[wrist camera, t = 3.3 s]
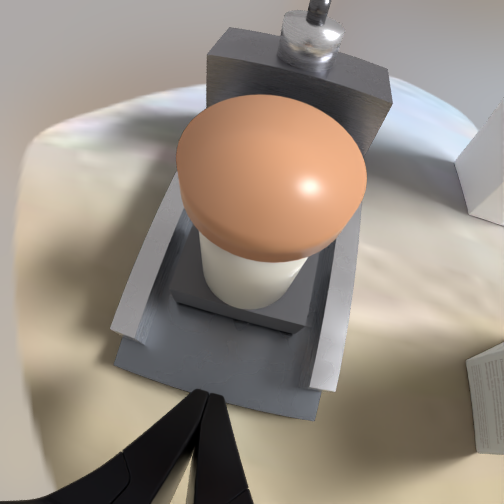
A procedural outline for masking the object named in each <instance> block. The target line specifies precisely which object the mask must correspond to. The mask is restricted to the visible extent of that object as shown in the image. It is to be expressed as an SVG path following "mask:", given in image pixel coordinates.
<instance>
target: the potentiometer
mask: <svg viewBox="0 0 504 504" xmlns="http://www.w3.org/2000/svg"><path fill="white" fill-rule="evenodd" d="M330 3H331V0H310V3H309V7H308V11H303V10H294V11H289V12H287V13H286V14H285V15H284V19H283V24H282V30H281V35H280V40H279V45H278V50H277V54H278V56H279V58H280V59H281V60H283V61H284V62H285V63H287V64H289V65H291V66H293V67H295V68H298V69H301V70H305V71H311V72H324V71H328V70H330V69H332V68H333V66H334V63H335V60H336V57H337V54H338V50H339V48H340V45H341V42H342V39H343V36H344V33H345V28H344V27H343V26H342V25H341V24H340V23H339V22H337V21H336V20H334V19H332V18H330V17H328V16H327V14H328V10H329V7H330Z"/></svg>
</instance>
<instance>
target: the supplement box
mask: <svg viewBox="0 0 504 504" xmlns="http://www.w3.org/2000/svg"><path fill="white" fill-rule="evenodd" d="M466 366H467V372H468V379H469V386H470V392H471V401H472V409H473V418H474V429H475V441H476V451H477V453H480V454H497V455H504V342H502V343H500V344H498V345H496V346H494V347H492V348H490V349H488V350H486V351H484V352H482V353H480V354H478V355H476V356H474V357H472V358H469V359H467V360H466Z"/></svg>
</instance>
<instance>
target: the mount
mask: <svg viewBox="0 0 504 504" xmlns="http://www.w3.org/2000/svg"><path fill="white" fill-rule="evenodd" d="M279 40H280V36H276V35H271V34H266V33H261V32H256V31H250V30H244V29H238V28H231V27H229V29H228V30H227V31H226V32H225V33H224V34H223V35H222V37H221V38H220V39H219V40H218V41H217V43H216V44H215V45H214V46H213V48H212V49H211V50H210V51H209V52H208V54H207V81H206V109H207V108H208V107H210V106H212V105H214V104H216V103H218V102H221V101H224V100H227V99H230V98H234V97H239V96H246V95H274V96H281V97H286V98H290V99H294V100H297V101H300V102H303V103H306V104H308V105H310V106H313V107H315V108H317V109H318V110H320V111H322V112H324V113H325V114H327V115H328V116H330V117H331V118H333V119H334V120H335V121H336V122H338V123H339V124H340V125H341V126H342V127H343V128H344V129H345V130H346V131H347V132H348V133H349V135H350V136H351V137H352V138H353V140H354V141H355V143H356V144H357V146H358V148H359V150H360V152H361V154H362V156H363V159H364V156H365V154H366V152H367V151H368V149H369V147H370V145H371V143H372V142H373V140H374V138H375V136H376V134H377V132H378V130H379V129H380V127H381V125H382V123H383V121H384V119H385V117H386V115H387V114H388V112H389V110H390V108H391V106H392V104H393V102H392V95H391V88H390V81H389V75H388V69H386V68H383V67H381V66H378V65H375V64H373V63H370V62H367V61H365V60H362V59H359V58H356V57H353V56H350V55H347V54H344V53H341V52H338V54H337V57H336V60H335V63H334V66H333V68H332V69H330V70H328V71H324V72H311V71H305V70H301V69H298V68H295V67H293V66H291V65H289V64H287V63H285V62H284V61H283V60H281V59H280V58H279V56H278V54H277V50H278V45H279ZM361 207H362V201H361V203H360V205H359V207H358V208H357V210H356V211H355V213H354V214H353V216H352V217H351V219H350V220H349V222H348V223H347V224H346V226H345V227H344V229H343V230H342V232H341V233H340V234H339V235H338V237H337V238H336V239H335V240H334V241H333V242H332V243H331V244H330V245H328V246H327V247H326V248H324V249H323V250H321V251H320V252H319V258H318V263H317V269H316V275H315V280H314V285H313V291H312V296H311V301H310V306H309V311H308V316H307V321H306V326H305V327H303V328H302V329H301V330H300V331H298V332H297V333H296V334H292V333H288V332H284V331H280V330H276V329H272V328H268V327H264V326H260V325H257V324H253V323H249V322H245V321H242V320H238V319H234V318H231V317H227V316H224V315H220V314H217V313H213V312H210V311H206V310H203V309H199V308H196V307H193V306H189V305H186V304H183V303H179V302H176V301H174V298H173V296H172V294H171V292H170V290H169V286H170V283H171V281H172V278H173V275H174V272H175V270H176V267H177V264H178V261H179V259H180V256H181V253H182V251H183V248H184V245H185V243H186V240H187V238H188V235H189V232H190V230H191V227H192V225H193V223H192V221H191V220H190V218H189V217H188V215H187V213H186V210H185V208H184V206H183V202H182V198H181V193H180V186H179V179H178V172H177V171H176V173H175V175H174V177H173V179H172V181H171V183H170V186H169V188H168V190H167V192H166V194H165V196H164V198H163V200H162V202H161V204H160V207H159V209H158V211H157V213H156V215H155V218H154V220H153V222H152V224H151V226H150V229H149V231H148V233H147V236H146V238H145V240H144V243H143V245H142V247H141V250H140V252H139V254H138V257H137V259H136V262H135V264H134V266H133V269H132V271H131V274H130V276H129V279H128V281H127V284H126V287H125V289H124V292H123V294H122V297H121V300H120V302H119V305H118V308H117V310H116V313H115V316H114V319H113V322H112V324H111V327H110V329H111V330H112V331H114V332H115V333H117V334H119V335H120V336H122V340H121V343H120V346H119V350H118V353H117V356H116V359H115V362H114V366H117V367H119V368H122V369H125V370H127V371H130V372H132V373H135V374H138V375H140V376H143V377H146V378H149V379H151V380H154V381H157V382H160V383H163V384H166V385H169V386H172V387H175V388H178V389H181V390H184V391H188V392H192V391H193V390H194V389H197V388H198V389H201V390H205V391H208V392H209V394H210V393H215V394H219V395H222V396H224V398H225V402H226V403H230V404H234V405H238V406H242V407H246V408H250V409H254V410H259V411H263V412H268V413H272V414H277V415H282V416H287V417H293V418H298V419H304V420H310V421H315V417H316V413H317V409H318V405H319V400H320V396H321V392H336V387H337V382H338V377H339V372H340V367H341V362H342V357H343V351H344V346H345V340H346V334H347V328H348V322H349V315H350V309H351V302H352V294H353V287H354V279H355V271H356V262H357V253H358V243H359V232H360V220H361Z"/></svg>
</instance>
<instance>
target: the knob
mask: <svg viewBox="0 0 504 504" xmlns="http://www.w3.org/2000/svg"><path fill="white" fill-rule="evenodd" d="M176 163H177V172H178V179H179V186H180V193H181V198H182V202H183V206H184V208H185V210H186V213H187V215H188V217H189V218H190V220H191V221H192V223H193V225H192V227H191V230H190V232H189V235H188V238H187V240H186V243H185V245H184V248H183V251H182V253H181V256H180V259H179V261H178V264H177V267H176V270H175V272H174V275H173V278H172V281H171V283H170V286H169V290H170V292H171V294H172V296H173V298H174V301H176V302H179V303H183V304H186V305H189V306H193V307H196V308H199V309H203V310H206V311H210V312H213V313H217V314H220V315H224V316H227V317H231V318H234V319H238V320H242V321H245V322H249V323H253V324H257V325H260V326H264V327H268V328H272V329H276V330H280V331H284V332H288V333H292V334H296V333H297V332H298V331H300V330H301V329H302V328H303V327H305V326H306V321H307V316H308V311H309V306H310V301H311V296H312V291H313V285H314V280H315V275H316V269H317V263H318V258H319V252H320V251H321V250H323V249H324V248H326V247H327V246H328V245H330V244H331V243H332V242H333V241H334V240H335V239H336V238H337V237H338V235H339V234H340V233H341V232H342V230H343V229H344V227H345V226H346V224H347V223H348V222H349V220H350V219H351V217H352V216H353V214H354V213H355V211H356V210H357V208H358V207H359V205H360V203H361V201H362V199H363V197H364V193H365V190H366V183H367V173H366V167H365V162H364V159H363V156H362V154H361V152H360V150H359V148H358V146H357V144H356V143H355V141H354V140H353V138H352V137H351V136H350V135H349V133H348V132H347V131H346V130H345V129H344V128H343V127H342V126H341V125H340V124H339V123H338V122H336V121H335V120H334V119H333V118H331V117H330V116H328V115H327V114H325V113H324V112H322V111H320V110H318V109H317V108H315V107H313V106H310V105H308V104H306V103H303V102H300V101H297V100H294V99H290V98H286V97H281V96H274V95H246V96H239V97H234V98H230V99H227V100H224V101H221V102H218V103H216V104H214V105H212V106H210V107H208V108H207V109H205V110H204V111H202V112H201V113H199V114H198V115H197V116H196V117H195V118H194V119H193V120H192V121H191V122H190V123H189V124H188V126H187V127H186V128H185V130H184V131H183V133H182V135H181V138H180V140H179V143H178V147H177V153H176Z"/></svg>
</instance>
